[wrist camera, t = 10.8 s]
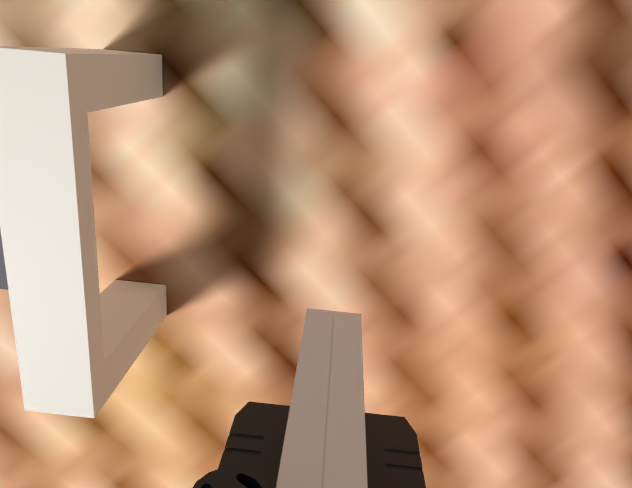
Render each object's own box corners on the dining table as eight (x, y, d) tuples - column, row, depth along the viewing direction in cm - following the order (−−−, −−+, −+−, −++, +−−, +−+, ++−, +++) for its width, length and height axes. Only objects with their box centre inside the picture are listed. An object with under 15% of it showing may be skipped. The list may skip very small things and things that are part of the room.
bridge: (161, 54, 26) (65, 53, 17) (166, 315, 31) (94, 418, 22) (102, 49, 26) (-25, 45, 17) (116, 310, 31) (24, 410, 22)
